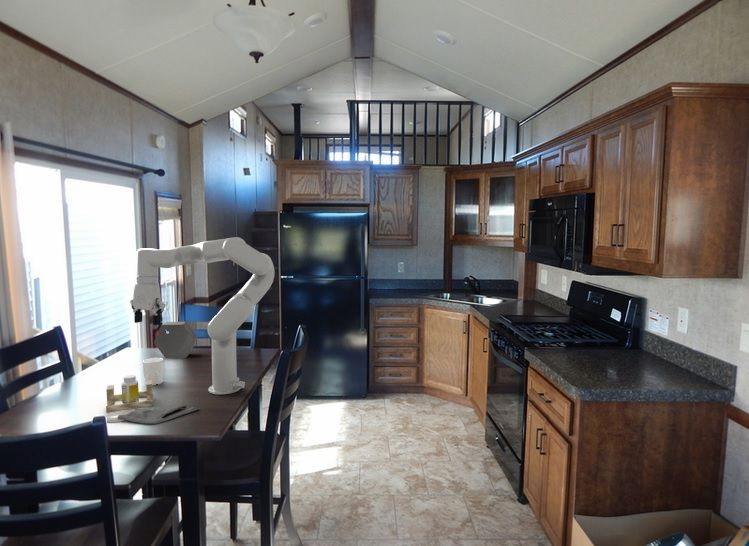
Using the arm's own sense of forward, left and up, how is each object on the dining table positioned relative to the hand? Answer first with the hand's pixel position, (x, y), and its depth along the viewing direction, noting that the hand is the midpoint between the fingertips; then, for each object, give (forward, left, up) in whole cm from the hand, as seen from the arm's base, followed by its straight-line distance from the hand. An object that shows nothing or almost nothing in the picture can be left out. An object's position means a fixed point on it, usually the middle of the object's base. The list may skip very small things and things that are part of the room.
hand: (147, 323), depth 181 cm
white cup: (+8, -12, -29) cm, 32 cm away
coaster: (-6, +22, -28) cm, 36 cm away
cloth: (-19, +19, -28) cm, 39 cm away
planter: (+27, -52, -29) cm, 65 cm away
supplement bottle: (0, +10, -29) cm, 30 cm away
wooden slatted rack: (0, +10, -28) cm, 30 cm away
